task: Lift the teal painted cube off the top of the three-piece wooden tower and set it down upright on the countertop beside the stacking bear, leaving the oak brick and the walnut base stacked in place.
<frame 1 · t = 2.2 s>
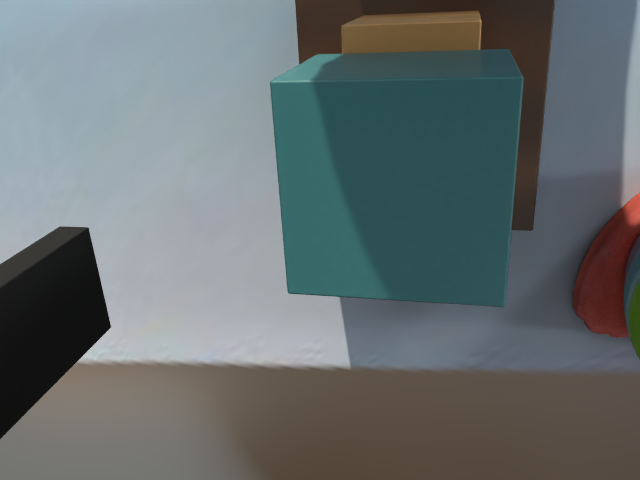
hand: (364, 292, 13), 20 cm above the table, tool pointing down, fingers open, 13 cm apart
walnut base: (422, 101, 31), on the table, touching oak brick
oak brick: (418, 116, 28), point 3 cm above the table, touching teal cube, walnut base
teal cube: (408, 145, 23), point 8 cm above the table, touching oak brick
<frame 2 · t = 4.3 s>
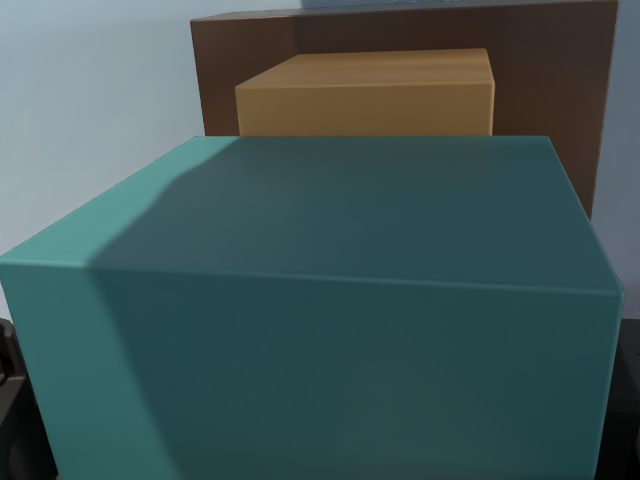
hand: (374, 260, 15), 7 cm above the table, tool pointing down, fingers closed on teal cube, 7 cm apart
walnut base: (401, 174, 21), on the table, touching oak brick
oak brick: (390, 211, 18), point 3 cm above the table, touching teal cube, walnut base
teal cube: (364, 292, 13), point 8 cm above the table, touching gripper, oak brick
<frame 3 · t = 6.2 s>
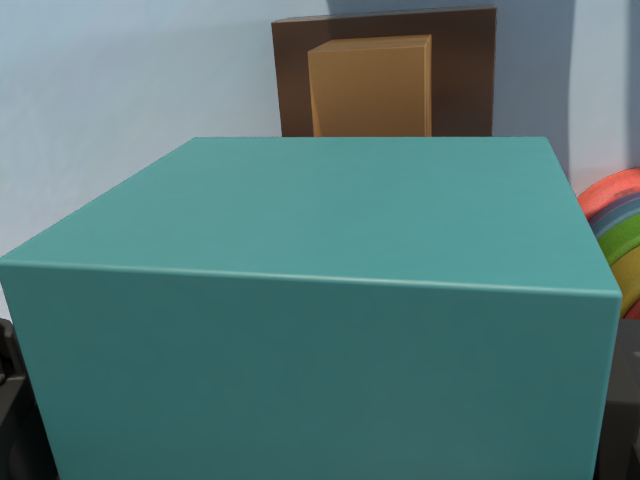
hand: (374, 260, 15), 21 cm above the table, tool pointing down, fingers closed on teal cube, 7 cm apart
stacking bear: (637, 245, 35), on the table
walnut base: (390, 113, 34), on the table, touching oak brick
oak brick: (382, 127, 31), point 3 cm above the table, touching walnut base
teal cube: (363, 293, 13), point 23 cm above the table, touching gripper
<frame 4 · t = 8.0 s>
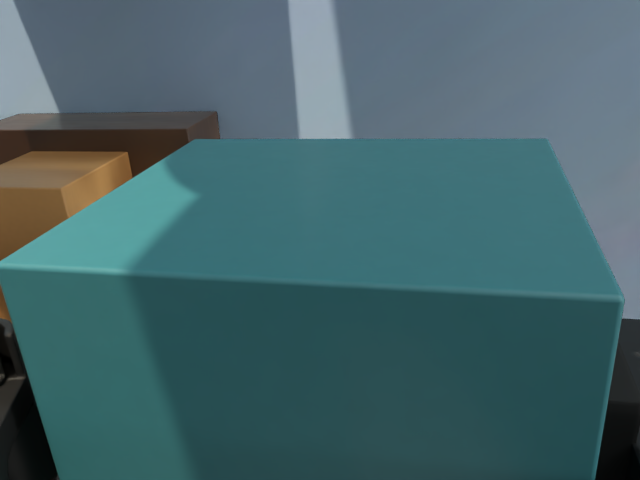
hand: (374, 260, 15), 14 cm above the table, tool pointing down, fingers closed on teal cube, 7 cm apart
walnut base: (134, 214, 32), on the table, touching oak brick
oak brick: (99, 241, 29), point 3 cm above the table, touching walnut base
teal cube: (364, 295, 13), point 16 cm above the table, touching gripper
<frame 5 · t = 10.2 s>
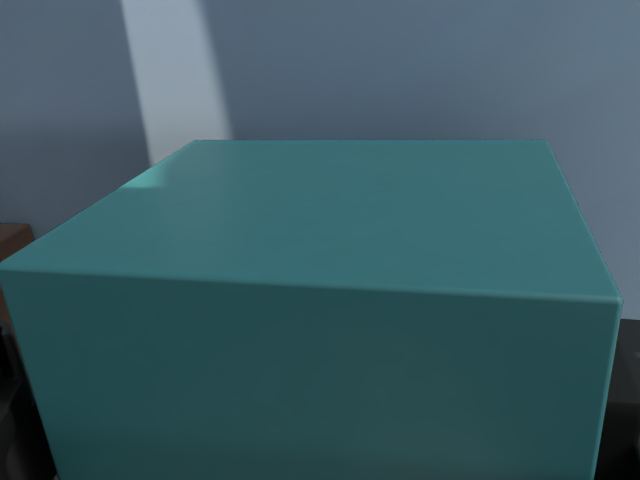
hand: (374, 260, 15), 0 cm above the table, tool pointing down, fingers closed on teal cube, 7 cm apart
teal cube: (363, 295, 13), point 2 cm above the table, touching gripper
when the fingers open (0 cm above the table, at t = 11.9 s): teal cube stays where it is, on the table.
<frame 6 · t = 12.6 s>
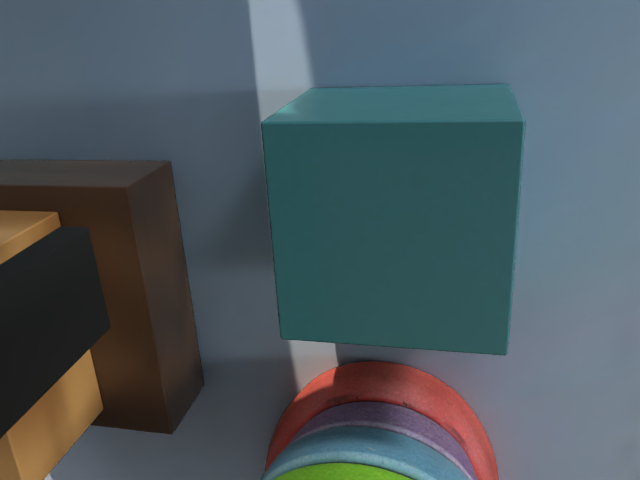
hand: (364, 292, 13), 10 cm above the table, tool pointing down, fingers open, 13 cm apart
stacking bear: (384, 444, 28), on the table
walnut base: (78, 275, 28), on the table, touching oak brick
oak brick: (28, 313, 25), point 3 cm above the table, touching walnut base
teal cube: (406, 181, 23), on the table
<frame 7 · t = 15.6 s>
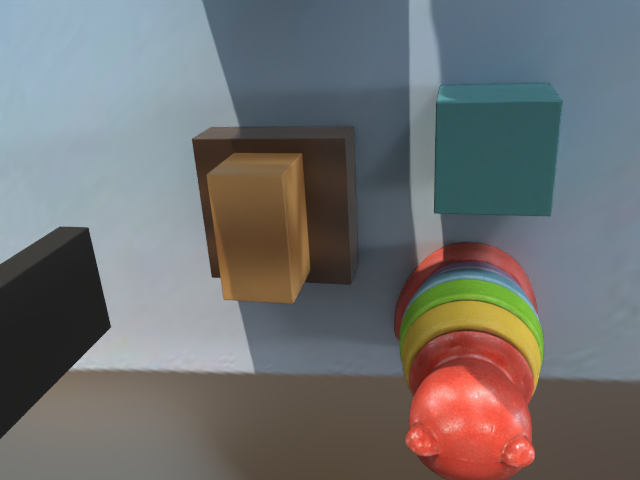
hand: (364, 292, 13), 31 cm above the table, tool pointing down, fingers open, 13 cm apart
stacking bear: (468, 297, 47), on the table
walnut base: (286, 197, 46), on the table, touching oak brick
oak brick: (273, 213, 43), point 3 cm above the table, touching walnut base
teal cube: (490, 135, 41), on the table
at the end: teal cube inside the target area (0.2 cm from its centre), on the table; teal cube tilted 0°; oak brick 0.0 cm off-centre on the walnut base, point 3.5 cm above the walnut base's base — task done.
